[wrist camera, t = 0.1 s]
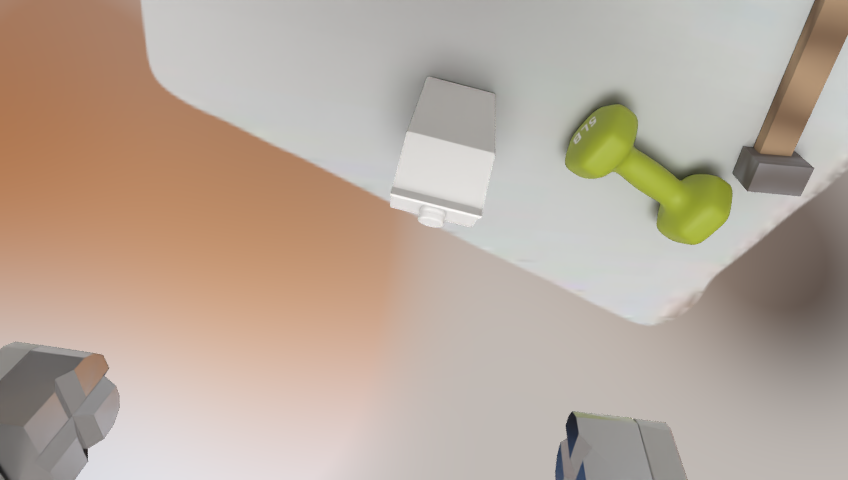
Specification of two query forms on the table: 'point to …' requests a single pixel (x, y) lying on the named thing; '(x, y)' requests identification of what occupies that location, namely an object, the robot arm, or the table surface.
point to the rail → (795, 105)
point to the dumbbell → (649, 176)
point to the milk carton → (447, 155)
